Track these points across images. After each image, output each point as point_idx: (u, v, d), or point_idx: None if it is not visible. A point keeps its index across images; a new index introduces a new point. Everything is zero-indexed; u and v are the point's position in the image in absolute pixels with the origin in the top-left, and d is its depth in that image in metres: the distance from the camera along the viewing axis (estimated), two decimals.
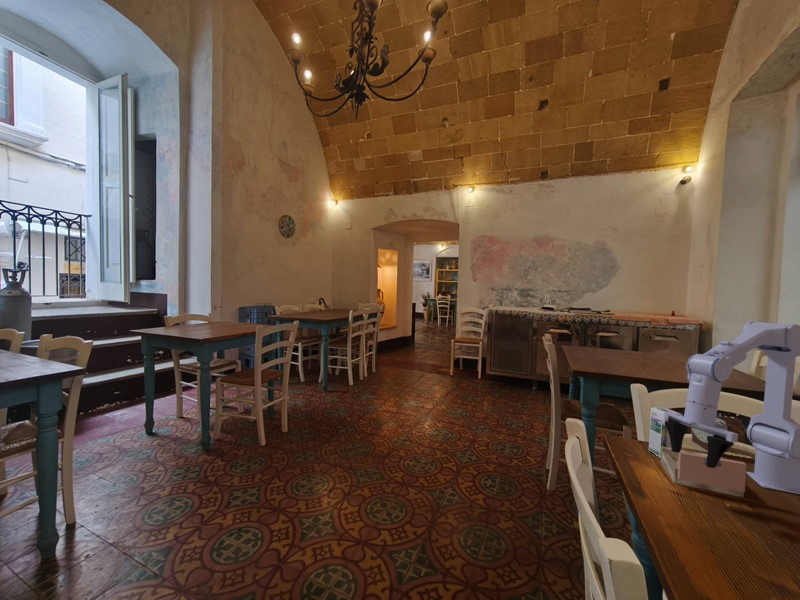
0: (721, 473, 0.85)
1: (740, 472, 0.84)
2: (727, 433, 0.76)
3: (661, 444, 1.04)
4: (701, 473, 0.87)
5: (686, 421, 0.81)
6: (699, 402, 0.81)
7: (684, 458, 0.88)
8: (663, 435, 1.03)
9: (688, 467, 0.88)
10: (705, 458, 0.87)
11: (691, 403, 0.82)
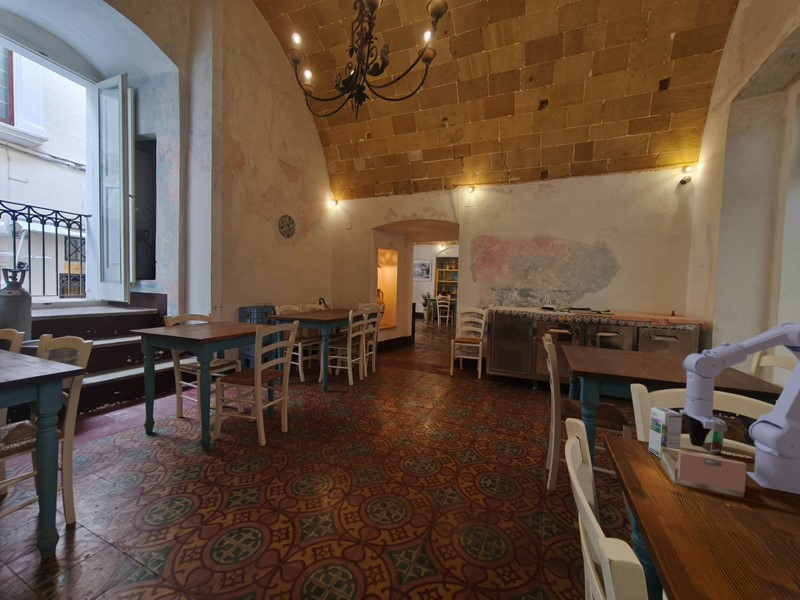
0: (721, 473, 0.85)
1: (740, 472, 0.84)
2: (703, 421, 0.89)
3: (661, 444, 1.04)
4: (701, 473, 0.87)
5: (680, 411, 0.96)
6: (690, 396, 0.94)
7: (684, 458, 0.88)
8: (663, 435, 1.03)
9: (688, 467, 0.88)
10: (705, 458, 0.87)
11: (686, 396, 0.96)
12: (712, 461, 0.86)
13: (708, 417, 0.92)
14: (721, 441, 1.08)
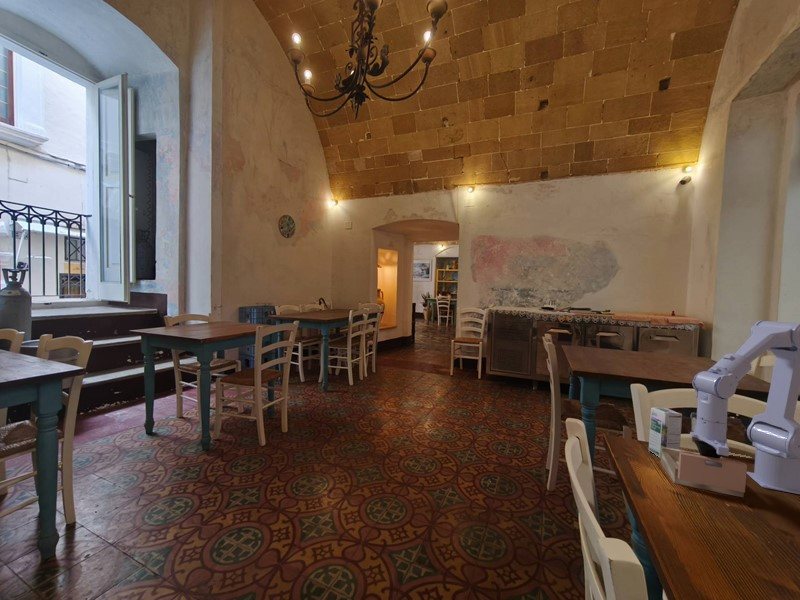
0: (721, 474, 0.85)
1: (741, 473, 0.84)
2: (716, 446, 0.82)
3: (661, 444, 1.04)
4: (701, 473, 0.87)
5: (690, 433, 0.89)
6: (707, 419, 0.86)
7: (685, 459, 0.88)
8: (663, 435, 1.03)
9: (689, 468, 0.88)
10: (706, 459, 0.86)
11: None
12: (713, 462, 0.85)
13: (721, 441, 0.84)
14: None
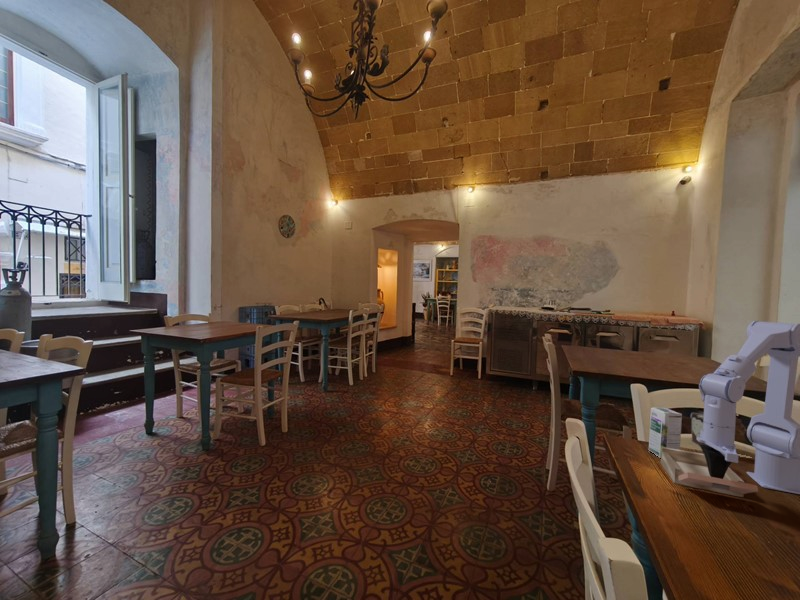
0: None
1: (748, 491, 0.80)
2: (724, 452, 0.78)
3: (661, 444, 1.04)
4: (704, 484, 0.85)
5: (697, 439, 0.85)
6: (716, 424, 0.82)
7: (690, 479, 0.84)
8: (663, 435, 1.03)
9: (692, 481, 0.85)
10: (714, 482, 0.82)
11: (703, 422, 0.85)
12: (720, 486, 0.81)
13: (730, 447, 0.81)
14: None
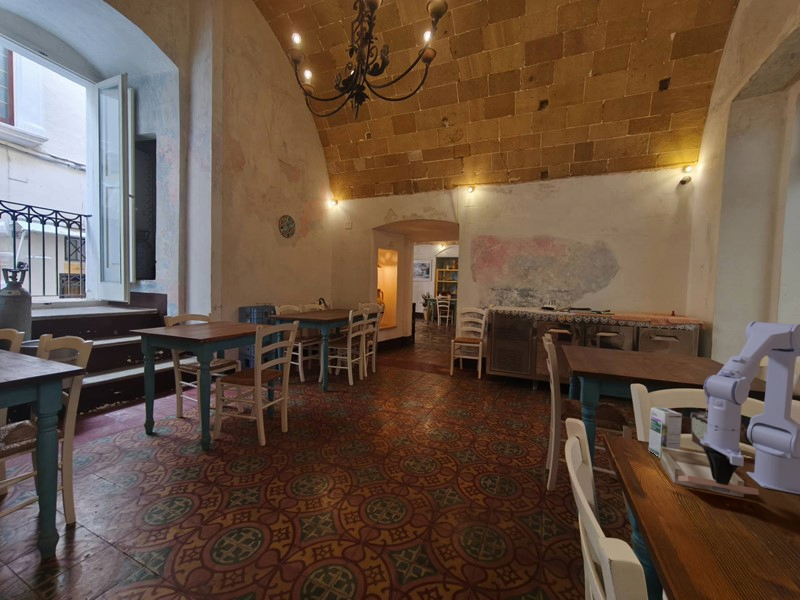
0: None
1: (748, 493, 0.80)
2: (729, 455, 0.76)
3: (661, 444, 1.04)
4: (704, 485, 0.85)
5: (701, 441, 0.83)
6: (722, 427, 0.80)
7: (691, 481, 0.84)
8: (663, 435, 1.03)
9: (692, 482, 0.85)
10: (714, 486, 0.81)
11: (707, 424, 0.83)
12: (721, 489, 0.81)
13: (734, 450, 0.79)
14: None
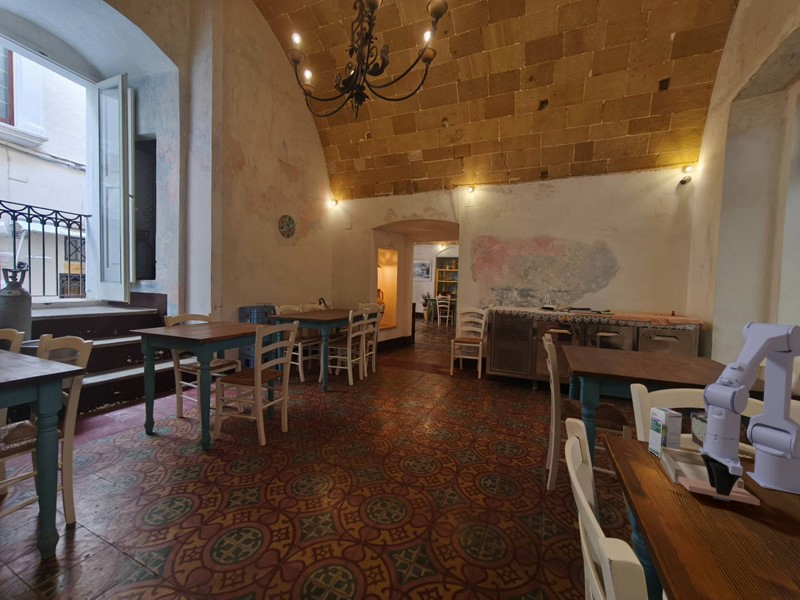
0: None
1: None
2: (729, 465, 0.76)
3: (661, 444, 1.04)
4: None
5: (700, 450, 0.83)
6: (721, 436, 0.80)
7: None
8: (663, 435, 1.03)
9: None
10: (715, 495, 0.81)
11: None
12: (721, 498, 0.81)
13: (734, 459, 0.79)
14: None
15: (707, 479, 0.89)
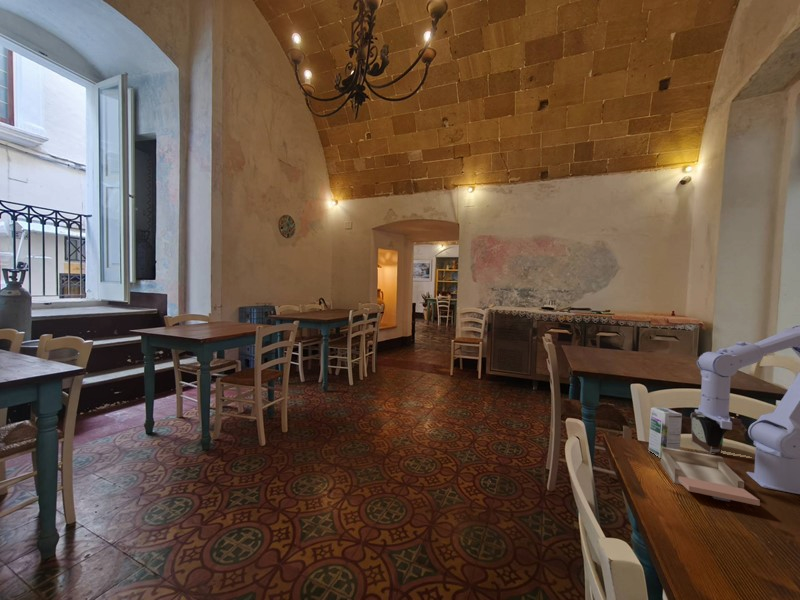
0: None
1: None
2: (720, 421, 0.87)
3: (661, 444, 1.04)
4: None
5: (695, 411, 0.94)
6: (707, 395, 0.91)
7: None
8: (663, 435, 1.03)
9: None
10: (715, 496, 0.81)
11: (701, 395, 0.94)
12: (721, 498, 0.81)
13: (724, 417, 0.89)
14: (721, 441, 1.08)
15: (707, 479, 0.89)
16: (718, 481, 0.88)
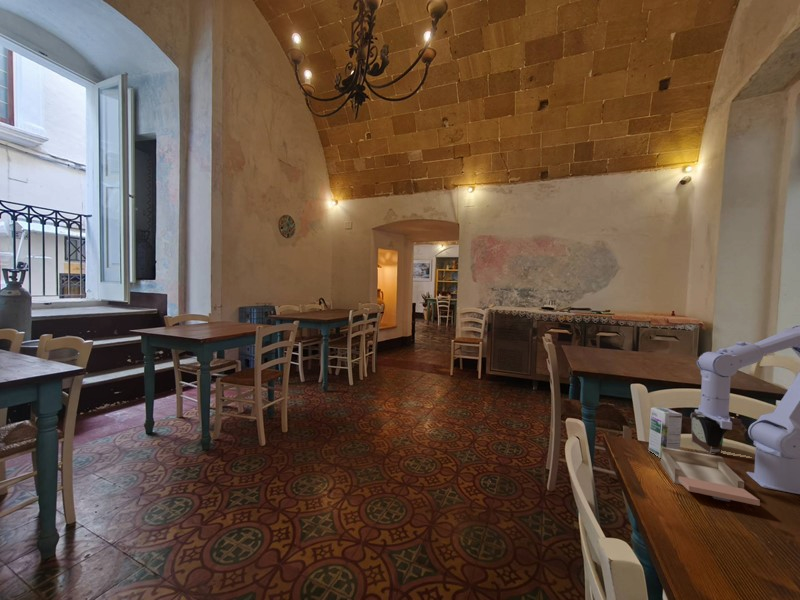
0: None
1: None
2: (720, 421, 0.87)
3: (661, 444, 1.04)
4: None
5: (695, 411, 0.94)
6: (707, 395, 0.91)
7: None
8: (663, 435, 1.03)
9: None
10: (715, 496, 0.81)
11: (701, 395, 0.94)
12: (721, 498, 0.81)
13: (724, 417, 0.89)
14: (721, 441, 1.08)
15: (707, 479, 0.89)
16: (718, 481, 0.88)
